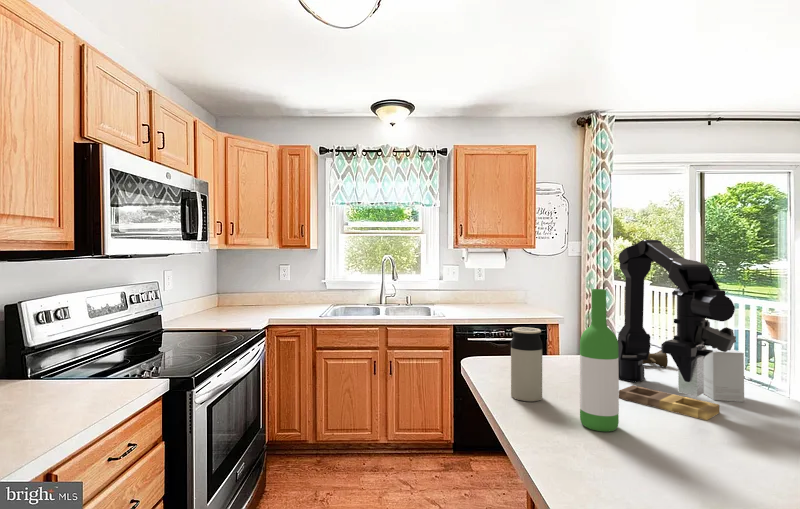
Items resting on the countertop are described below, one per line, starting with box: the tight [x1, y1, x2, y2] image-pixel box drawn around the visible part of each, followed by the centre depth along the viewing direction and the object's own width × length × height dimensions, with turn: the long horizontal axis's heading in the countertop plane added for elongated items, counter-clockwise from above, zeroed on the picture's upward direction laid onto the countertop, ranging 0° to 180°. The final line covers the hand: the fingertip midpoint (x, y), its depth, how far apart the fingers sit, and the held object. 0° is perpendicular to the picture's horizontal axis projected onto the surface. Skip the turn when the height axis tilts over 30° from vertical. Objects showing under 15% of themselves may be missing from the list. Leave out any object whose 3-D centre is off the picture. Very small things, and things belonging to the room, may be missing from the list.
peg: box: [677, 355, 704, 397], centre depth 106 cm, size 4×4×9 cm
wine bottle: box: [579, 288, 620, 433], centre depth 96 cm, size 8×8×30 cm
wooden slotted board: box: [619, 385, 720, 421], centre depth 110 cm, size 20×8×2 cm, turn 37°
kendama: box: [643, 350, 669, 369], centre depth 154 cm, size 6×10×20 cm
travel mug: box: [510, 326, 543, 403], centre depth 116 cm, size 8×8×18 cm
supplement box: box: [702, 346, 745, 403], centre depth 117 cm, size 7×7×13 cm
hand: (691, 380), depth 106 cm, fingers closed on peg, 4 cm apart
